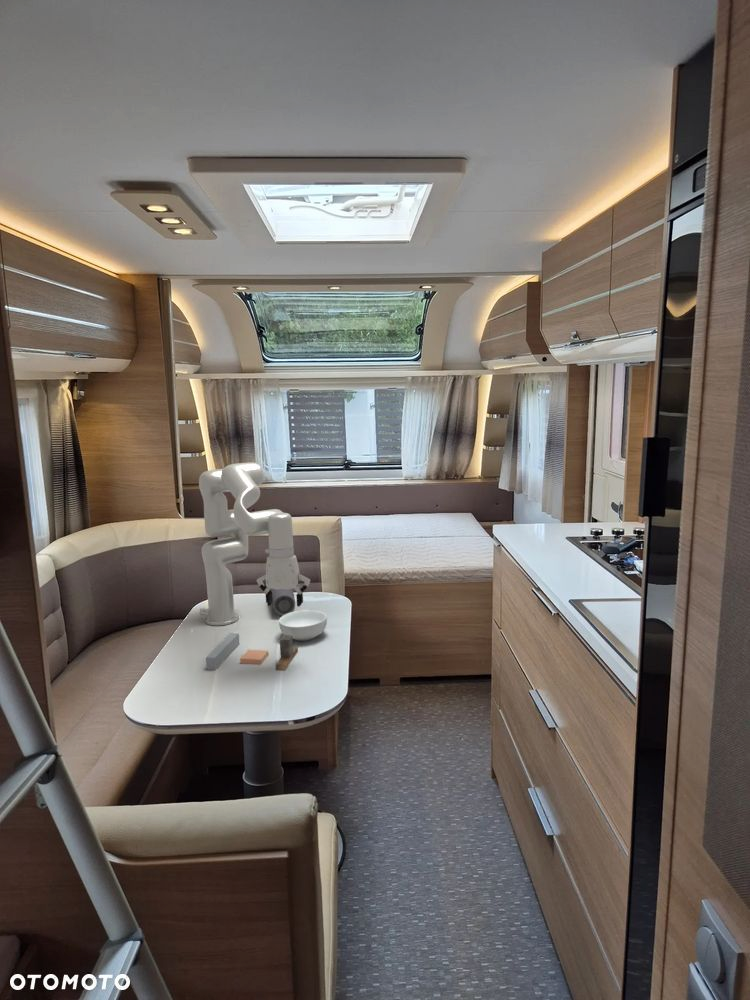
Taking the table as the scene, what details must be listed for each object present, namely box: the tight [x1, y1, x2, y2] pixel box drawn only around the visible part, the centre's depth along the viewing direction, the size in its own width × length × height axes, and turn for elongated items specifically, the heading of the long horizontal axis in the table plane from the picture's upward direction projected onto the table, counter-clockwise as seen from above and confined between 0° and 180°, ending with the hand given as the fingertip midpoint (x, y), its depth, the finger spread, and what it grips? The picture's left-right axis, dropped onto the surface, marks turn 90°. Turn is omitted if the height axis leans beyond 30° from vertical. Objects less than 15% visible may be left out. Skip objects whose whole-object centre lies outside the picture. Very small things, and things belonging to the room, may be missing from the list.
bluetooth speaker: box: [271, 589, 296, 617], centre depth 242 cm, size 23×9×10 cm, turn 12°
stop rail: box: [205, 632, 240, 671], centre depth 198 cm, size 3×20×4 cm, turn 171°
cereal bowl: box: [278, 609, 328, 642], centre depth 213 cm, size 17×17×7 cm
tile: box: [239, 649, 269, 665], centre depth 196 cm, size 7×7×2 cm
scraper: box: [275, 634, 299, 671], centre depth 194 cm, size 3×14×8 cm, turn 171°
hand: (284, 604), depth 191 cm, fingers open, 9 cm apart
